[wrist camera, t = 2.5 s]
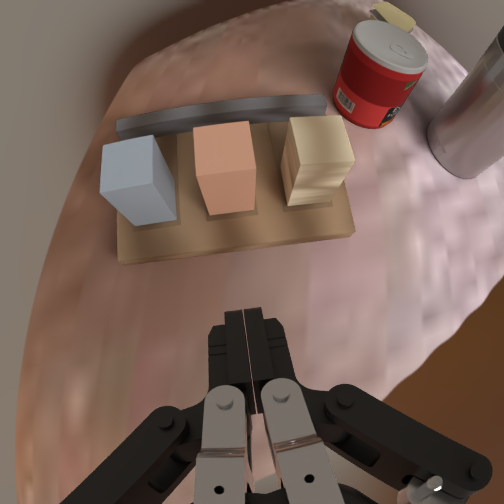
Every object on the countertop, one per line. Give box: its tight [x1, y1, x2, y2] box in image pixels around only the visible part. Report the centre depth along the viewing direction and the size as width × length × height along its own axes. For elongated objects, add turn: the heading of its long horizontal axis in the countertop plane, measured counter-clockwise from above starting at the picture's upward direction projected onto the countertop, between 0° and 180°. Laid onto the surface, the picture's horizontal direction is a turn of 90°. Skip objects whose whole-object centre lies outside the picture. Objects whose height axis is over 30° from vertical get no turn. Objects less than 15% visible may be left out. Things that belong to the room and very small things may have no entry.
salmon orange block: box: [193, 121, 256, 215], centre depth 25 cm, size 4×4×8 cm
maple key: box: [280, 116, 355, 206], centre depth 25 cm, size 4×4×8 cm
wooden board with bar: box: [116, 94, 355, 265], centre depth 30 cm, size 22×16×4 cm
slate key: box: [100, 135, 177, 226], centre depth 25 cm, size 4×4×8 cm
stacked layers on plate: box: [368, 2, 416, 34], centre depth 35 cm, size 10×9×6 cm
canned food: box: [333, 20, 428, 129], centre depth 29 cm, size 8×8×11 cm
